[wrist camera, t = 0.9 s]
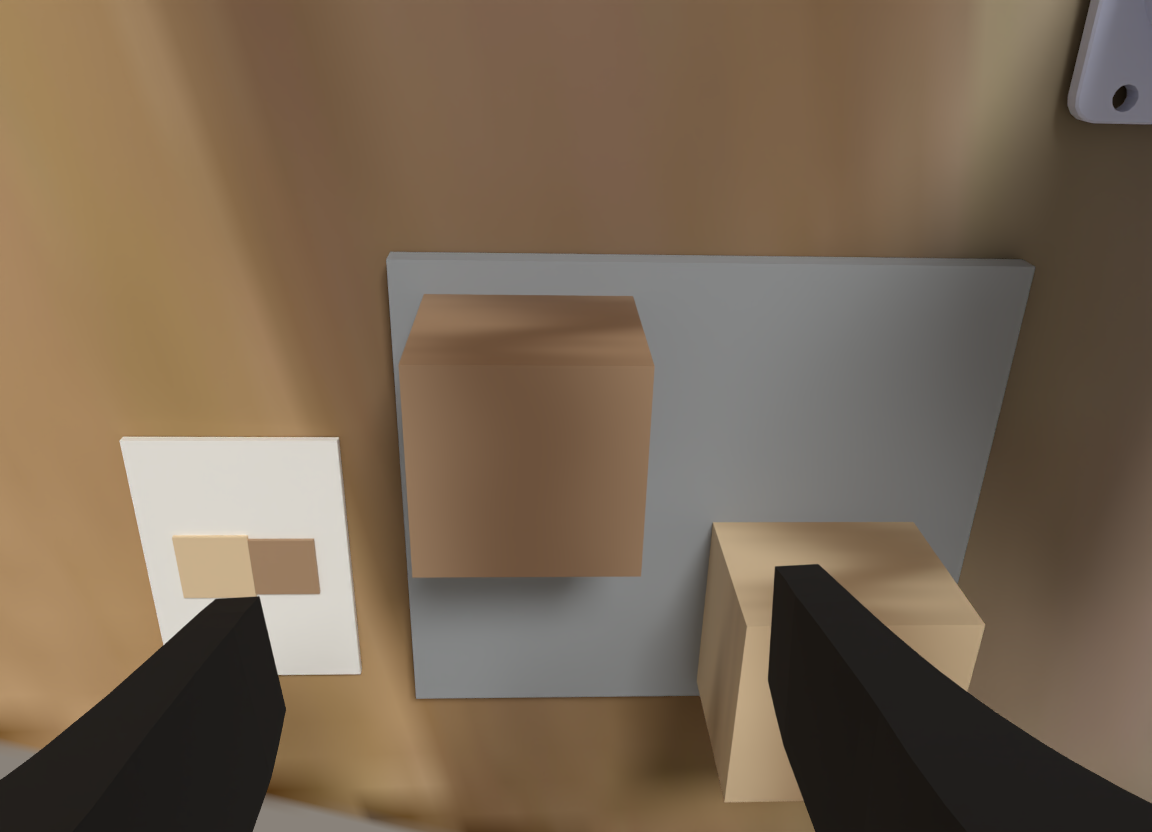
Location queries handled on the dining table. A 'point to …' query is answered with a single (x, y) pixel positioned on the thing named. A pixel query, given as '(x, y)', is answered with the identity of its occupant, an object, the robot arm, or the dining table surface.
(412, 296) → the mat
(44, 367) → the dining table surface
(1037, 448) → the dining table surface
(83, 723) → the robot arm
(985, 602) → the dining table surface
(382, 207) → the dining table surface
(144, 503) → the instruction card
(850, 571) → the oak block
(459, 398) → the walnut block
